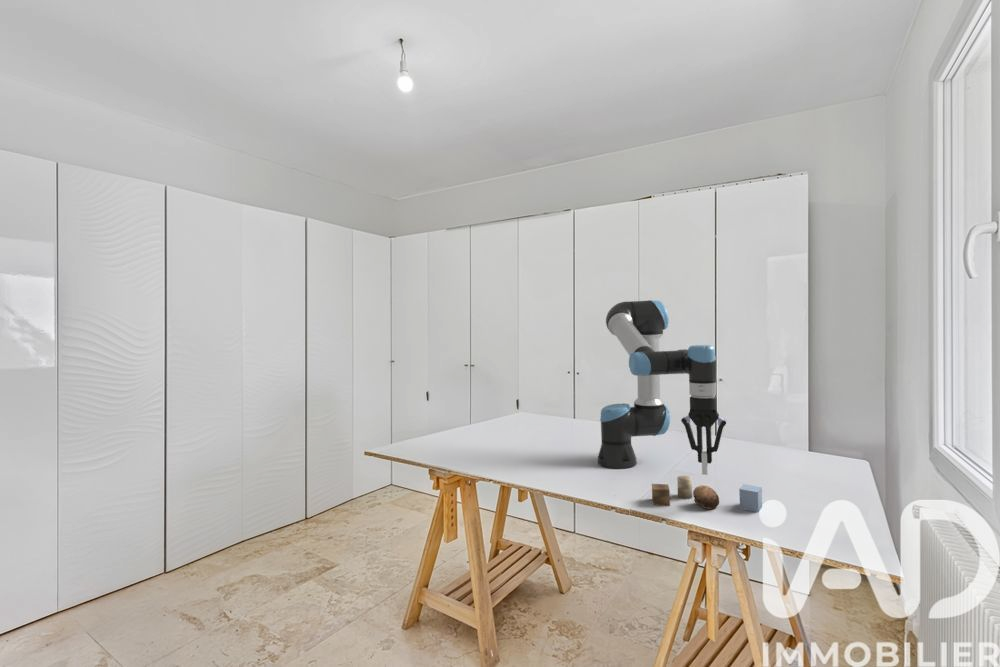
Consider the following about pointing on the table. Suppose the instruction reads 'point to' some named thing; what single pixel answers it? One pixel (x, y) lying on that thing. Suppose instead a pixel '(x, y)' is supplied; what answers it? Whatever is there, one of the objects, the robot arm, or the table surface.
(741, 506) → the slate block
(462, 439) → the table surface
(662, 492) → the walnut block
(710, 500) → the mushroom
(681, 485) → the birch cylinder
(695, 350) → the robot arm
